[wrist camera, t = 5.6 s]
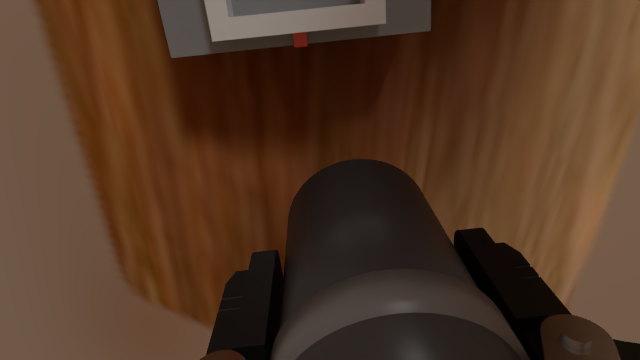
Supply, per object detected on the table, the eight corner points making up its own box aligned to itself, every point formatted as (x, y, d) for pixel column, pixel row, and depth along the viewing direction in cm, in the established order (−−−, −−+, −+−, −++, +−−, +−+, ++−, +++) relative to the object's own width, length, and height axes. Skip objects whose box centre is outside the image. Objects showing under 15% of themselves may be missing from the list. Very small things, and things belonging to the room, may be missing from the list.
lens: (432, 146, 13) (660, 415, 5) (431, 277, 15) (581, 615, 7) (272, 164, 13) (214, 460, 5) (295, 291, 15) (281, 643, 7)
